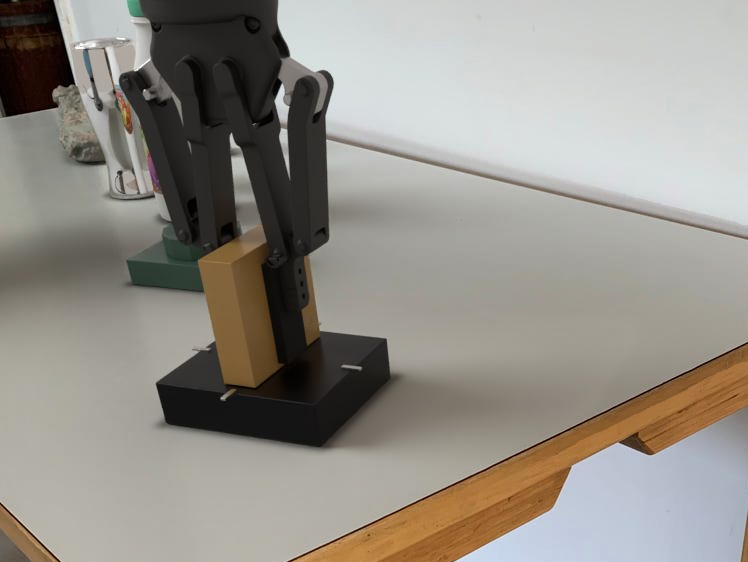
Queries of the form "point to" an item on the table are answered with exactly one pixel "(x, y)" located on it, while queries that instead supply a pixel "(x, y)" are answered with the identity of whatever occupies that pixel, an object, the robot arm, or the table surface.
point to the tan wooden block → (246, 309)
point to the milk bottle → (143, 56)
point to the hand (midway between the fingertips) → (273, 352)
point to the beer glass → (113, 113)
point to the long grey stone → (76, 126)
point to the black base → (280, 391)
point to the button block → (169, 263)
